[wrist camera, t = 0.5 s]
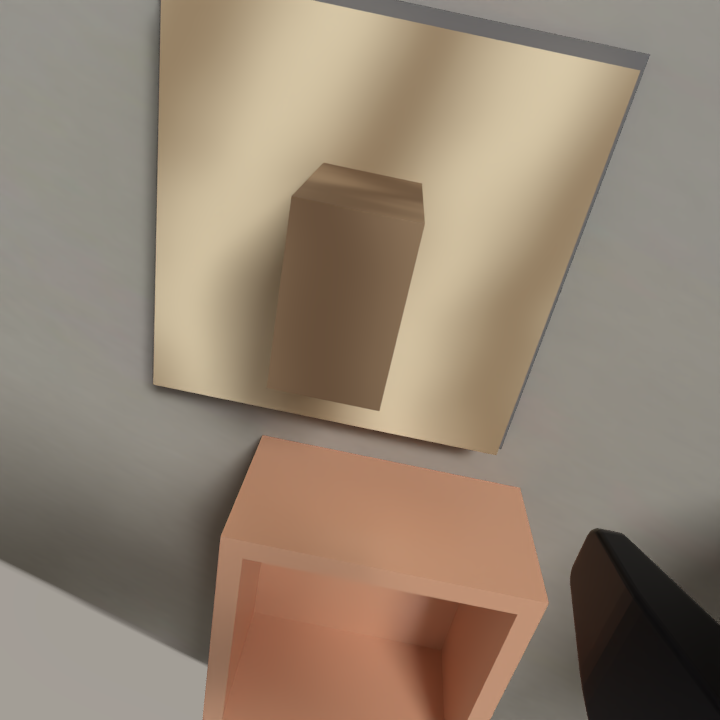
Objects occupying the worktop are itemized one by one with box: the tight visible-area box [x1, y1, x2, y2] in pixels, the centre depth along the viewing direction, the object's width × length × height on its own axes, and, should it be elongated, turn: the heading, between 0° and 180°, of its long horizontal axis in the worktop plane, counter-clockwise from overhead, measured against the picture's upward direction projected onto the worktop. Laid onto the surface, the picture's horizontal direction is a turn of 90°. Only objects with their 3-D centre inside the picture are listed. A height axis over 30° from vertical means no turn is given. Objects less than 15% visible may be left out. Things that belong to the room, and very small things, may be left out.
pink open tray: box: [203, 435, 549, 720], centre depth 24 cm, size 11×11×6 cm
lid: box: [153, 0, 640, 455], centre depth 16 cm, size 13×13×6 cm
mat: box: [153, 0, 650, 449], centre depth 19 cm, size 14×14×1 cm
